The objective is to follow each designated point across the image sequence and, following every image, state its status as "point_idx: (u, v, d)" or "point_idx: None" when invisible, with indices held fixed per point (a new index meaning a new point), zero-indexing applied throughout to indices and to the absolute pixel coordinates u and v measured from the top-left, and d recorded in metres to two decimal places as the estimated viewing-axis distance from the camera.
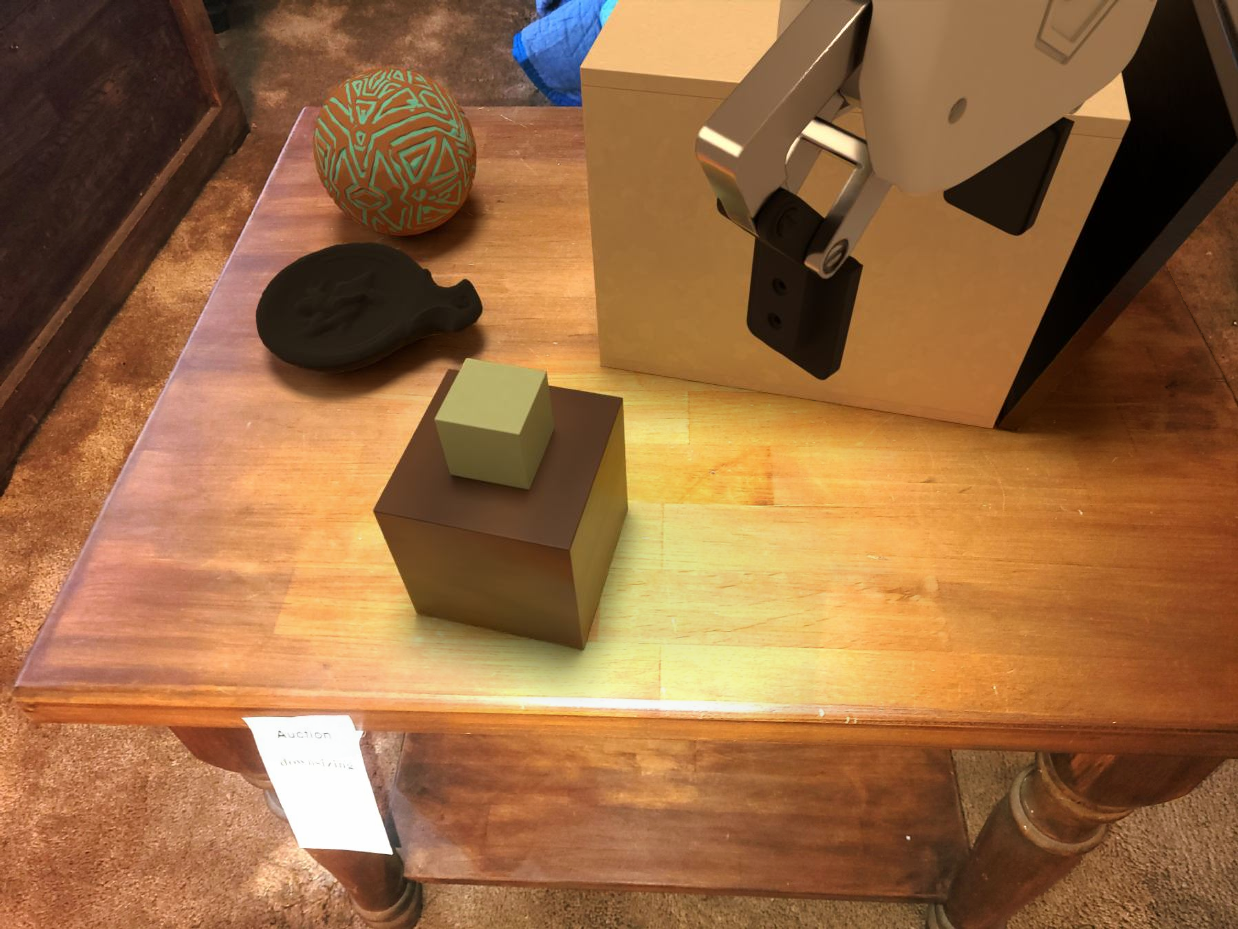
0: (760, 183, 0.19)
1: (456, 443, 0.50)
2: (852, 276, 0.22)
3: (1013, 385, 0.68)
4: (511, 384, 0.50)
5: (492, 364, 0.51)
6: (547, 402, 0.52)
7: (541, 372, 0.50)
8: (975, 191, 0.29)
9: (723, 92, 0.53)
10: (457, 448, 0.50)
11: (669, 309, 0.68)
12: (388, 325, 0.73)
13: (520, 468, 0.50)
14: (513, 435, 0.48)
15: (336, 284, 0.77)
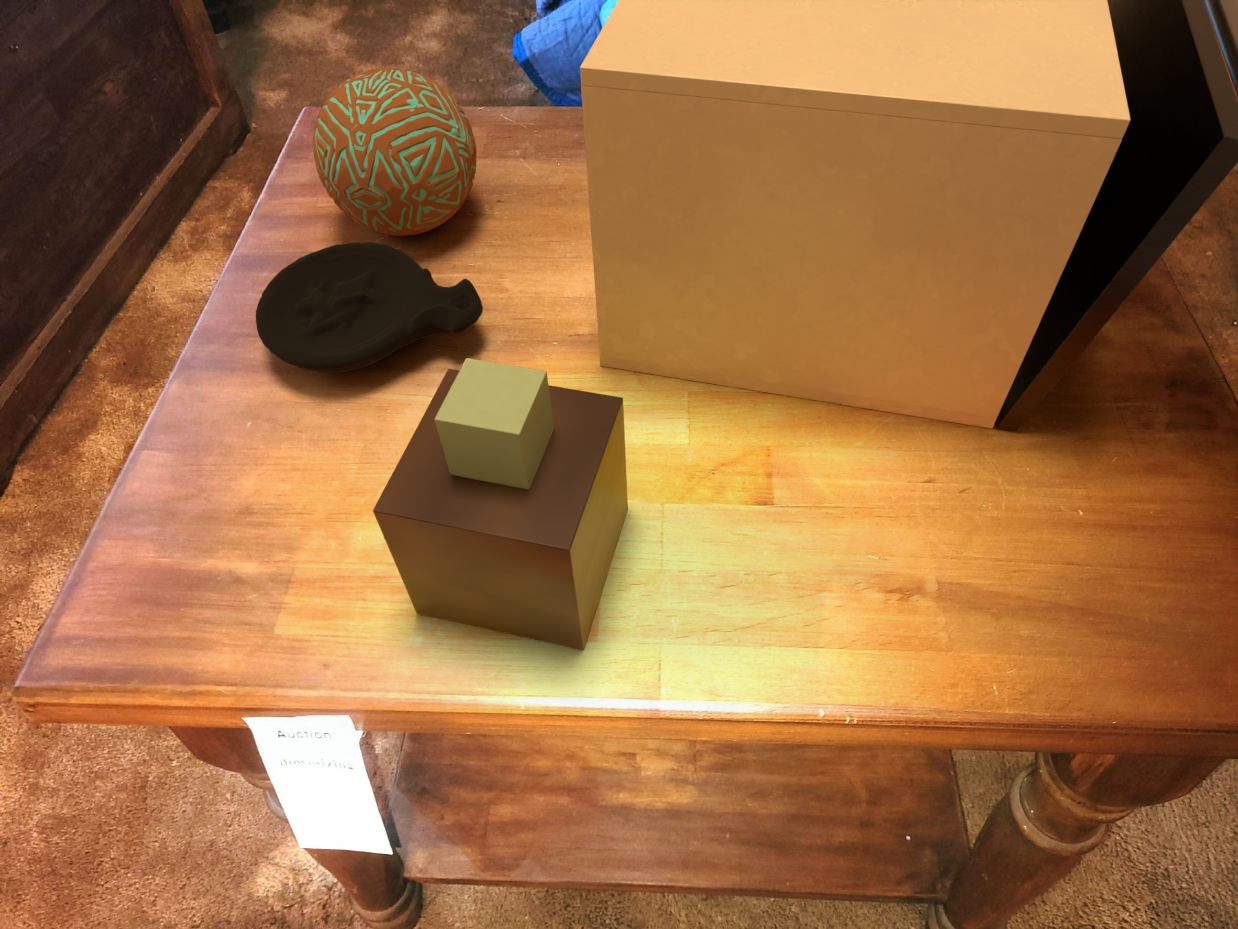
0: None
1: (456, 443, 0.50)
2: None
3: (1012, 385, 0.68)
4: (511, 384, 0.50)
5: (492, 364, 0.51)
6: (547, 402, 0.52)
7: (541, 372, 0.50)
8: None
9: (723, 92, 0.53)
10: (457, 448, 0.50)
11: (669, 309, 0.68)
12: (388, 325, 0.73)
13: (520, 468, 0.50)
14: (513, 435, 0.48)
15: (336, 284, 0.77)
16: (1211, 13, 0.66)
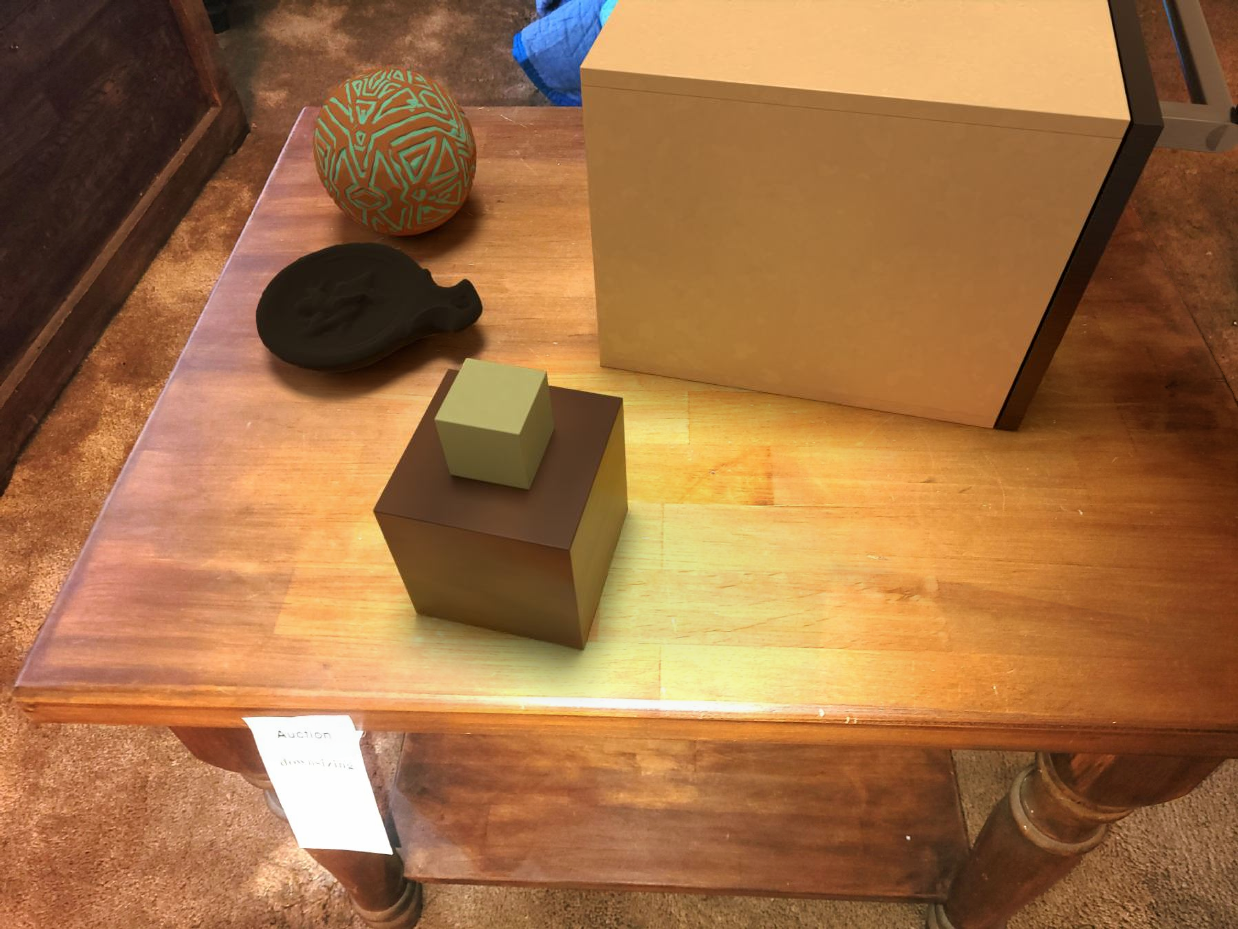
0: None
1: (456, 443, 0.50)
2: None
3: None
4: (511, 384, 0.50)
5: (492, 364, 0.51)
6: (547, 402, 0.52)
7: (541, 372, 0.50)
8: None
9: (723, 92, 0.53)
10: (457, 448, 0.50)
11: (669, 309, 0.68)
12: (388, 325, 0.73)
13: (520, 468, 0.50)
14: (513, 435, 0.48)
15: (336, 284, 0.77)
16: None
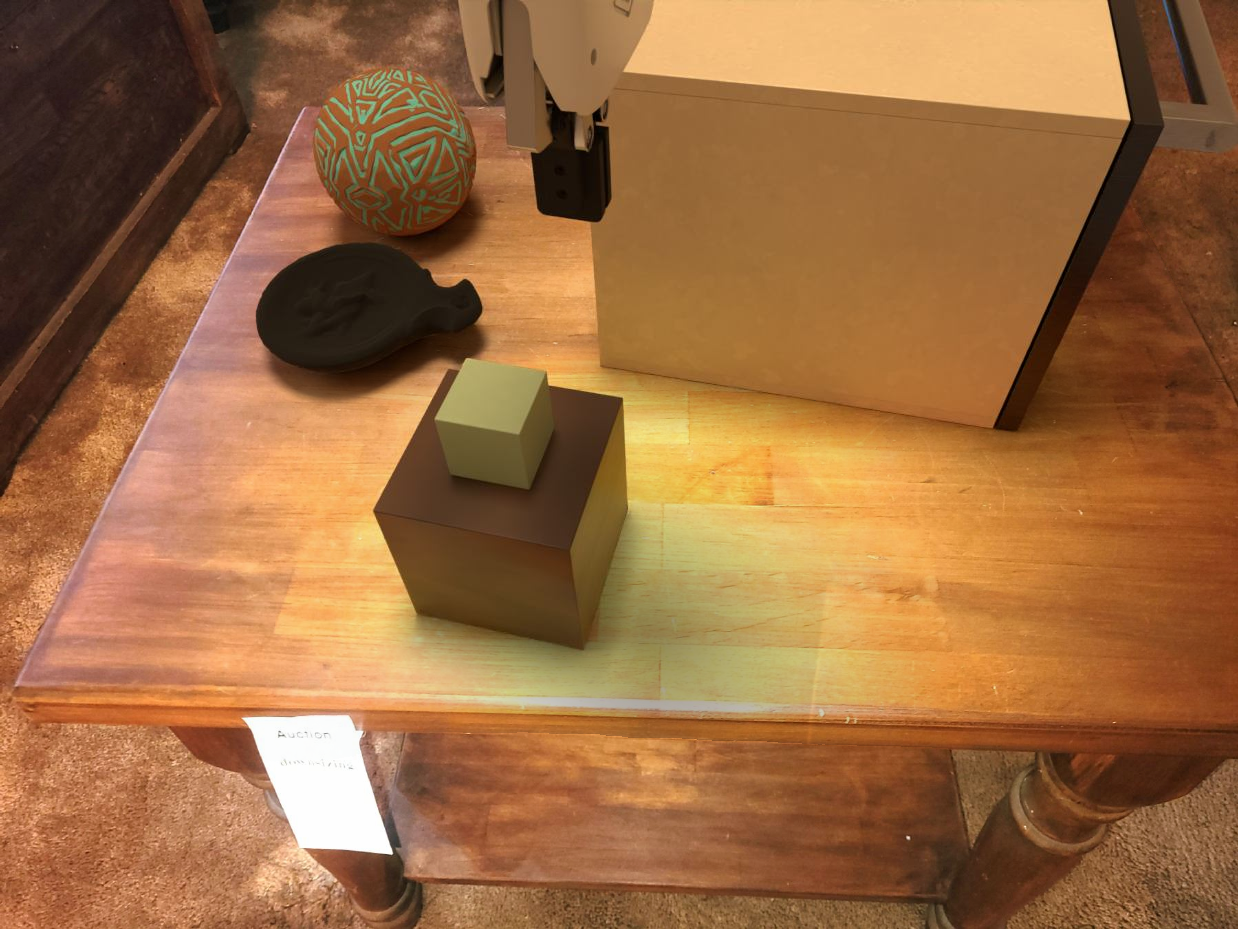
0: (546, 133, 0.34)
1: (456, 443, 0.50)
2: (599, 147, 0.38)
3: None
4: (511, 384, 0.50)
5: (492, 364, 0.51)
6: (547, 402, 0.52)
7: (541, 372, 0.50)
8: None
9: (723, 92, 0.53)
10: (457, 448, 0.50)
11: (669, 309, 0.68)
12: (388, 325, 0.73)
13: (520, 468, 0.50)
14: (513, 435, 0.48)
15: (336, 284, 0.77)
16: None
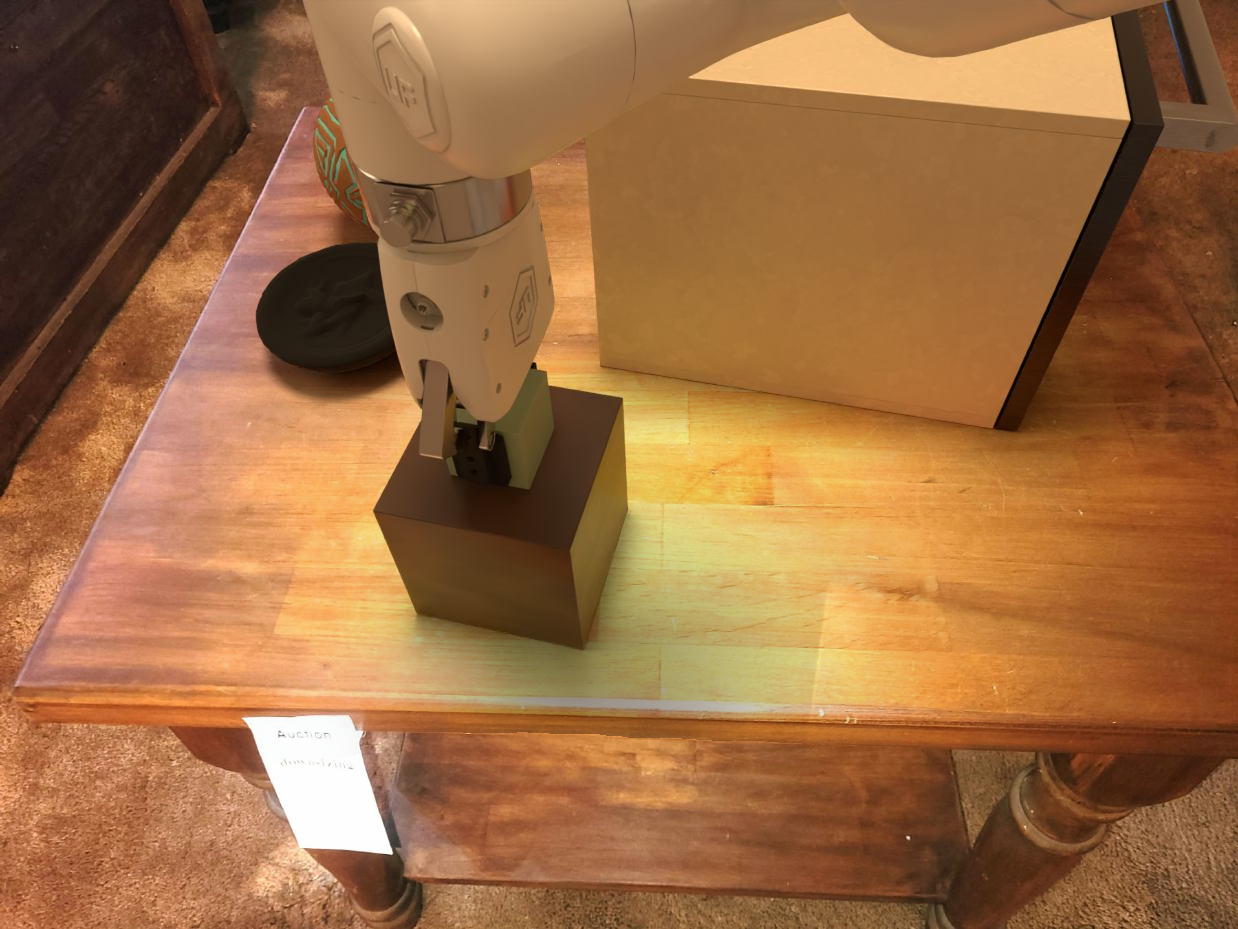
0: (452, 447, 0.43)
1: None
2: (501, 443, 0.48)
3: None
4: None
5: None
6: (547, 402, 0.52)
7: (541, 372, 0.50)
8: None
9: (723, 92, 0.53)
10: None
11: (669, 309, 0.68)
12: (388, 325, 0.73)
13: (520, 468, 0.50)
14: (513, 435, 0.48)
15: (336, 284, 0.77)
16: None
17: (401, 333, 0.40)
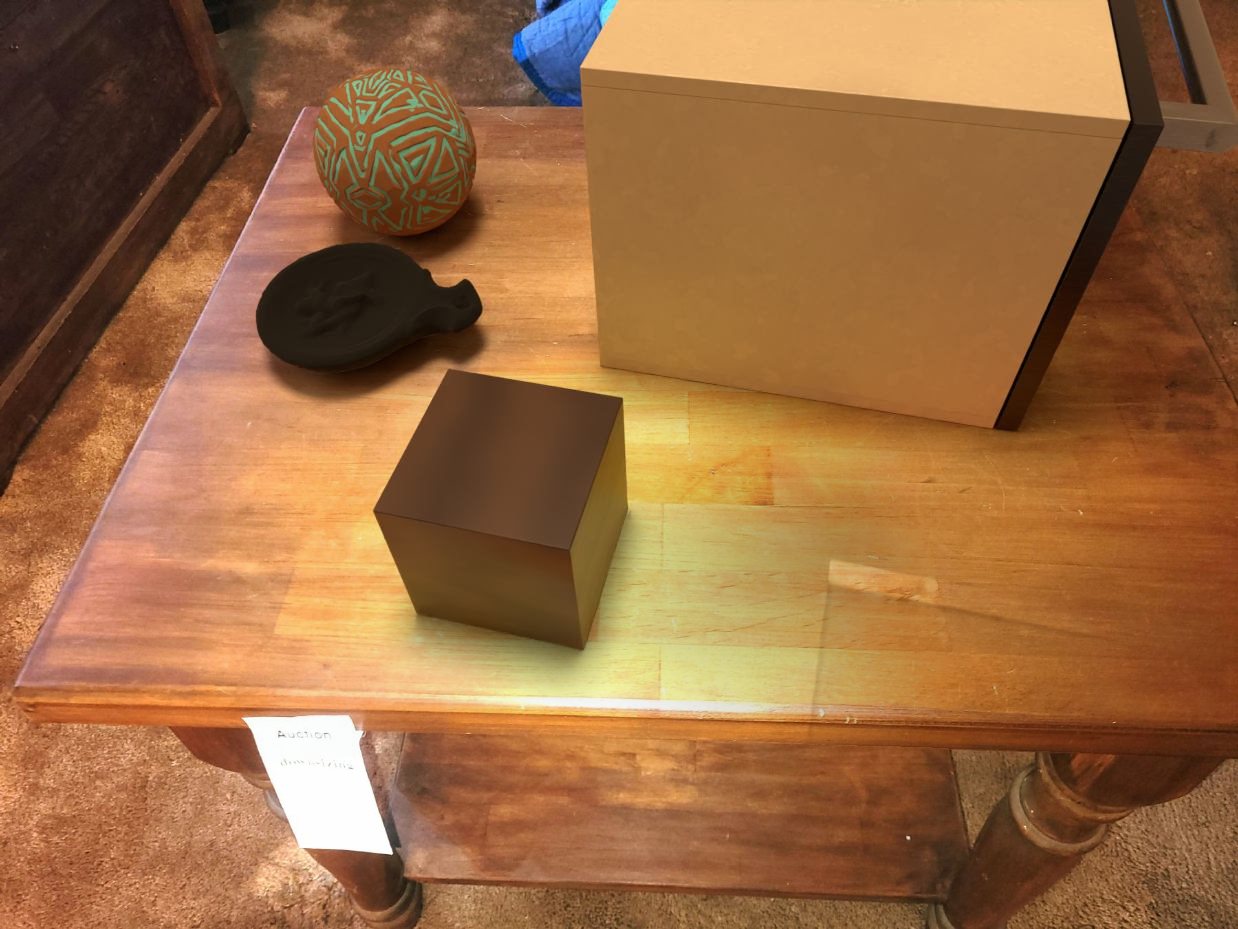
0: None
1: None
2: None
3: None
4: None
5: None
6: None
7: None
8: None
9: (723, 92, 0.53)
10: None
11: (669, 309, 0.68)
12: (388, 325, 0.73)
13: None
14: None
15: (336, 284, 0.77)
16: None
17: None
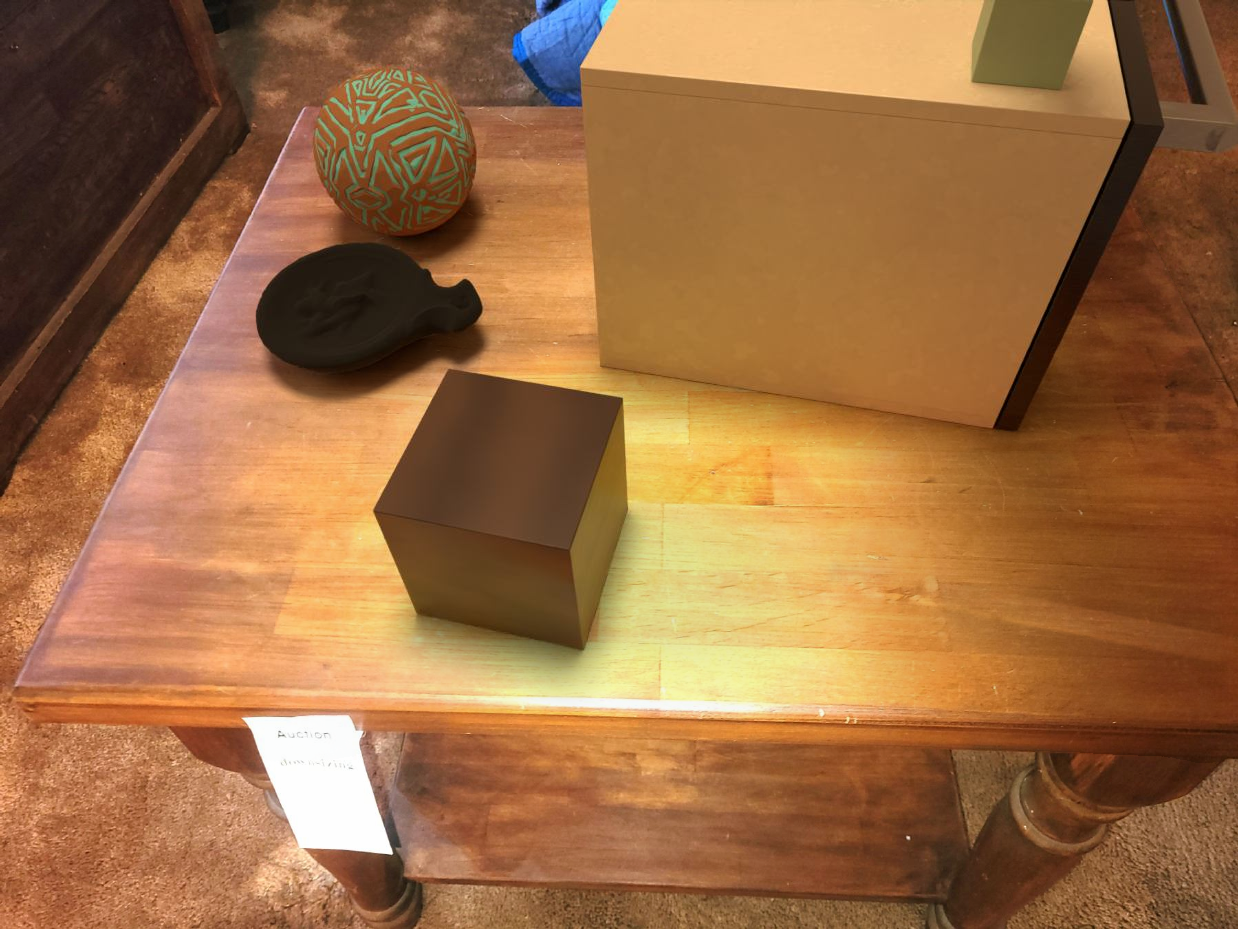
0: None
1: (1005, 28, 0.49)
2: None
3: None
4: None
5: None
6: None
7: None
8: None
9: (723, 92, 0.53)
10: (1002, 36, 0.50)
11: (669, 309, 0.68)
12: (388, 325, 0.73)
13: (1067, 55, 0.49)
14: (1084, 4, 0.47)
15: (336, 284, 0.77)
16: None
17: None
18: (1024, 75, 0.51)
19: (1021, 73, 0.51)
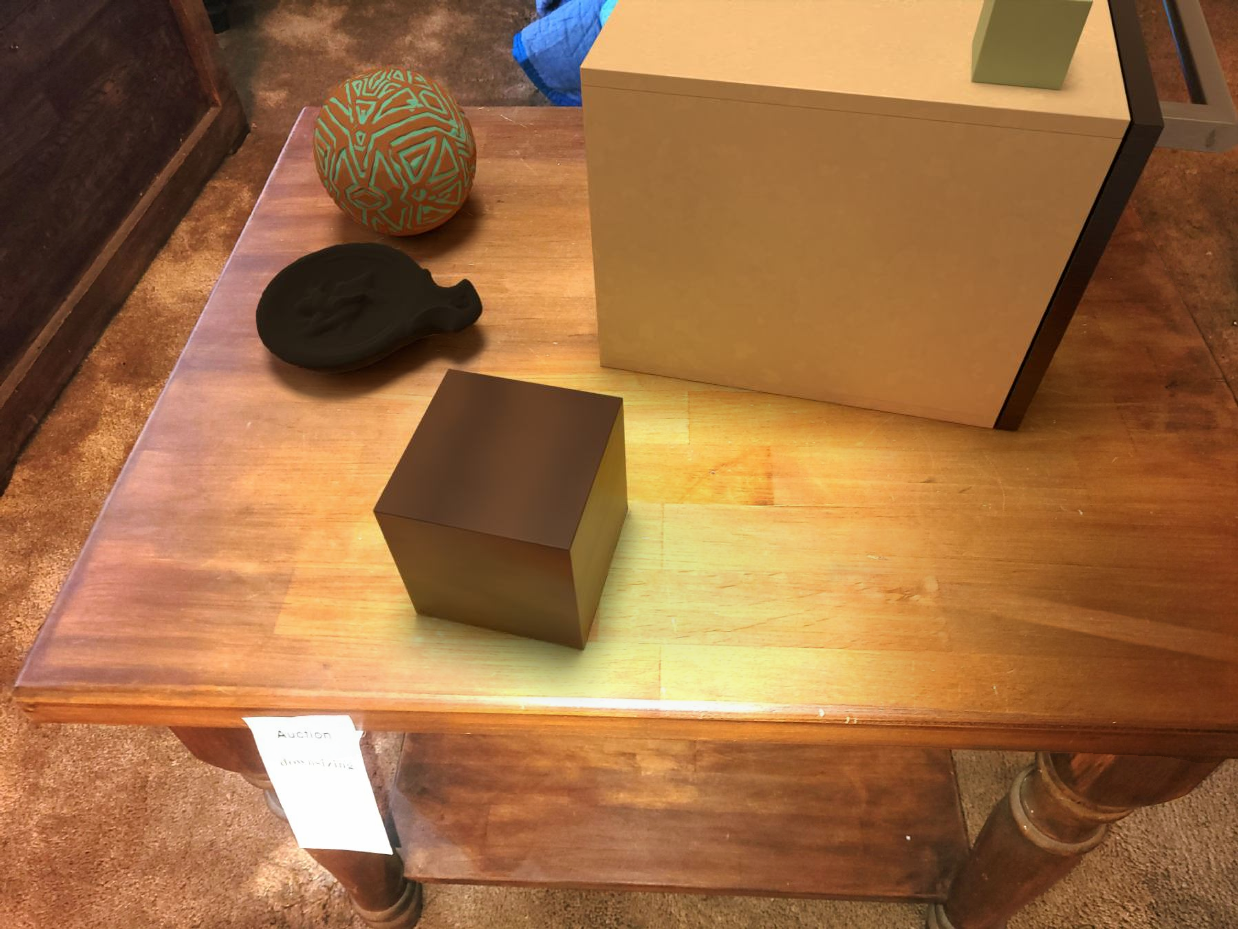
0: None
1: (1005, 28, 0.49)
2: None
3: None
4: None
5: None
6: None
7: None
8: None
9: (723, 92, 0.53)
10: (1002, 36, 0.50)
11: (669, 309, 0.68)
12: (388, 325, 0.73)
13: (1067, 55, 0.49)
14: (1084, 4, 0.47)
15: (336, 284, 0.77)
16: None
17: None
18: (1024, 75, 0.51)
19: (1021, 73, 0.51)
